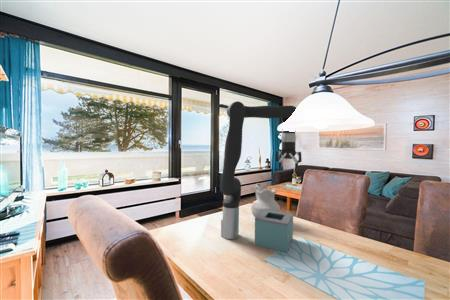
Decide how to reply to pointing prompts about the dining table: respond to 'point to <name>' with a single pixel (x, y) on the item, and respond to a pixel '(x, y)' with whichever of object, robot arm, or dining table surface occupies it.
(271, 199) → the ceramic pitcher
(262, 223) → the box
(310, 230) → the dining table surface
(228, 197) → the robot arm
